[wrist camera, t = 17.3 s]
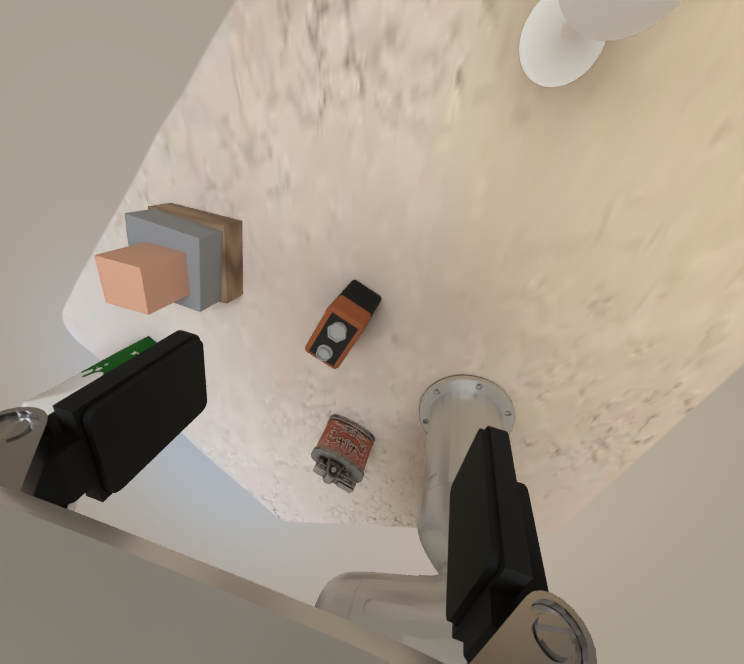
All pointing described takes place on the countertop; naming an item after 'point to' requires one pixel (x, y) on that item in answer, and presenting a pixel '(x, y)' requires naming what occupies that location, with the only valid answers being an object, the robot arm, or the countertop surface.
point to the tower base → (230, 245)
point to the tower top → (188, 238)
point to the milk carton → (86, 376)
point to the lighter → (342, 452)
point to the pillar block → (143, 276)
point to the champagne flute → (580, 34)
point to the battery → (343, 324)
